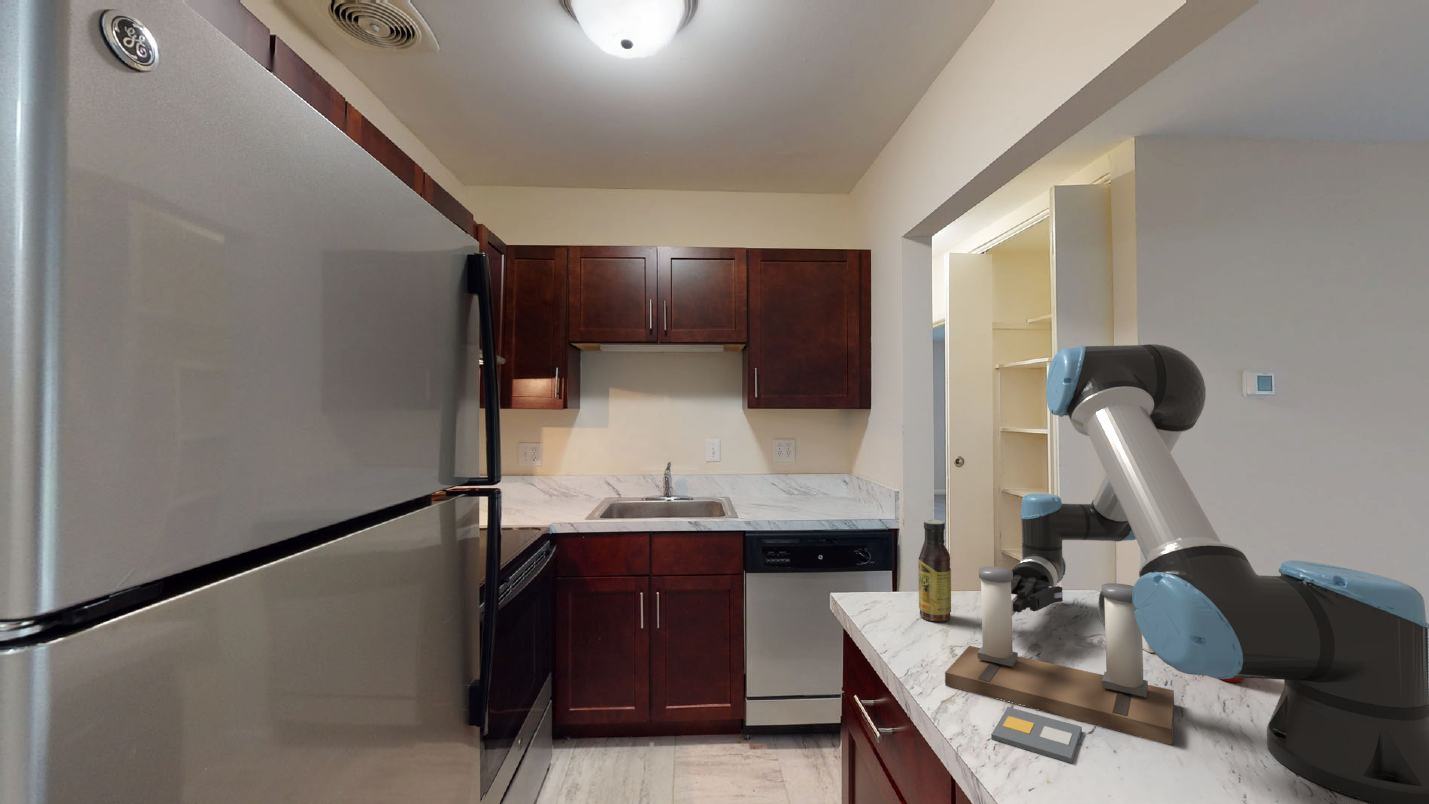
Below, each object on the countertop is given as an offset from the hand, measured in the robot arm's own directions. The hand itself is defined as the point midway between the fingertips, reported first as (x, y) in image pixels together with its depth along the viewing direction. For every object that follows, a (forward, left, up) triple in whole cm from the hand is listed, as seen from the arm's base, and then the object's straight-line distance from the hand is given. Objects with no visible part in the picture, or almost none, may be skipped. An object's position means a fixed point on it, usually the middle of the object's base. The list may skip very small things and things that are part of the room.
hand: (1003, 611), depth 102 cm
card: (-19, +15, -8) cm, 25 cm away
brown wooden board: (-12, +3, -8) cm, 15 cm away
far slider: (-3, +5, -6) cm, 8 cm away
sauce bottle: (+21, -4, -9) cm, 23 cm away
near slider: (-18, -4, -6) cm, 19 cm away
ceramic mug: (+2, -33, -9) cm, 34 cm away
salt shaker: (-7, -27, -9) cm, 29 cm away
